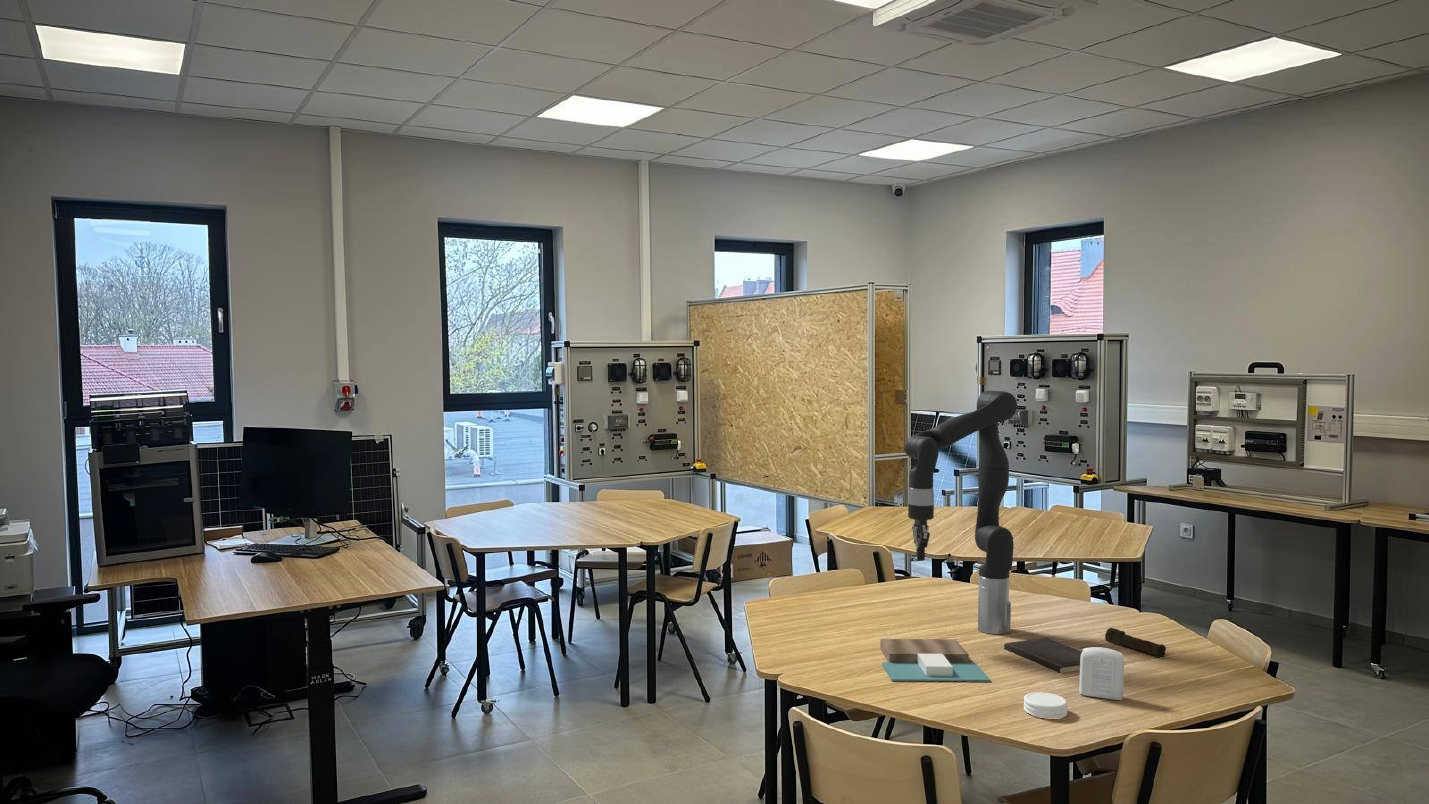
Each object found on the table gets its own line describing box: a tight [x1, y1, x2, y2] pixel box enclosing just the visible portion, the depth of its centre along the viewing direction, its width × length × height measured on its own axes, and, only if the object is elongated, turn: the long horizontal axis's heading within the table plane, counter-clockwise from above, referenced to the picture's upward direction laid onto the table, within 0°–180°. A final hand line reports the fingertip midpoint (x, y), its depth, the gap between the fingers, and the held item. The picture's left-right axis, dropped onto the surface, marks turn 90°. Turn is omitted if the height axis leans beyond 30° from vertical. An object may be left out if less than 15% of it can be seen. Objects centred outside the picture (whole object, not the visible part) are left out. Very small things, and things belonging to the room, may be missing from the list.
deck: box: [879, 638, 970, 663], centre depth 267 cm, size 22×14×3 cm, turn 90°
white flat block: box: [917, 654, 953, 676], centre depth 254 cm, size 7×11×2 cm, turn 0°
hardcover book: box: [1003, 637, 1083, 674], centre depth 267 cm, size 16×23×2 cm
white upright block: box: [1078, 646, 1125, 701], centre depth 235 cm, size 10×4×12 cm, turn 69°
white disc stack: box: [1023, 691, 1069, 719], centre depth 225 cm, size 10×10×4 cm
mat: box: [881, 661, 991, 683], centre depth 253 cm, size 26×14×1 cm, turn 90°
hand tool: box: [1104, 627, 1167, 659], centre depth 276 cm, size 19×4×5 cm, turn 27°
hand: (920, 560), depth 280 cm, fingers closed
